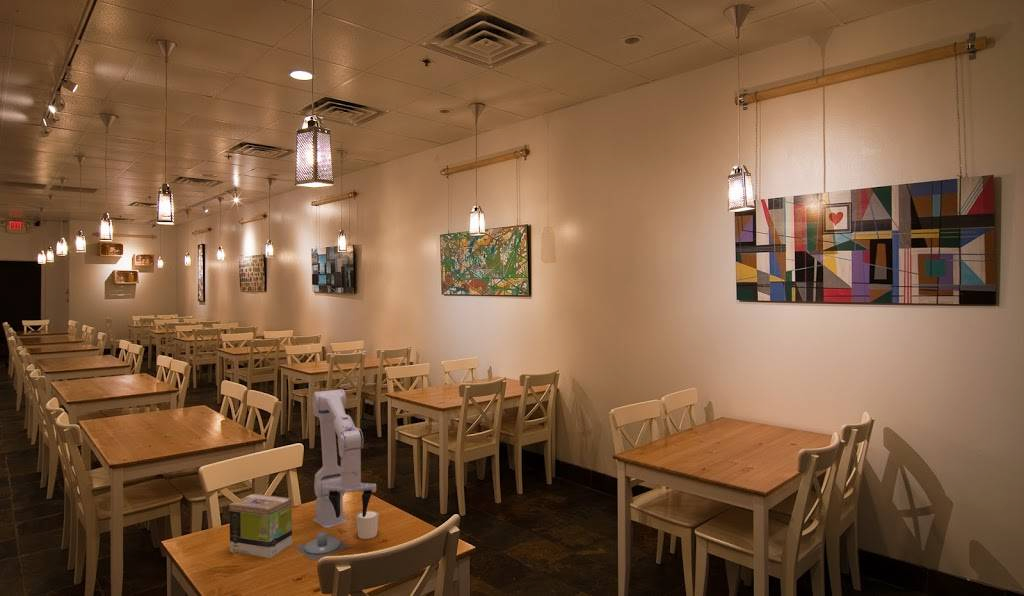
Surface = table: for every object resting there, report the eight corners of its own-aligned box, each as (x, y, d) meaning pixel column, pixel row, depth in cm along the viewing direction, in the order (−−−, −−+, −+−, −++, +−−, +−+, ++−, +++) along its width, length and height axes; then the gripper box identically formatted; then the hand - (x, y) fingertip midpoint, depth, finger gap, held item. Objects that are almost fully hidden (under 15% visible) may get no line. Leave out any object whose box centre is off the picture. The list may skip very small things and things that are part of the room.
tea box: (293, 545, 175) (292, 497, 174) (269, 560, 165) (268, 509, 165) (254, 538, 180) (253, 491, 179) (228, 553, 170) (227, 503, 170)
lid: (298, 547, 172) (298, 533, 172) (330, 536, 179) (330, 524, 179) (313, 558, 165) (313, 544, 165) (345, 547, 172) (345, 533, 172)
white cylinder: (372, 542, 176) (372, 519, 176) (352, 540, 178) (352, 518, 178) (382, 532, 183) (382, 511, 183) (362, 531, 185) (362, 509, 184)
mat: (294, 549, 172) (294, 547, 172) (331, 536, 181) (331, 534, 181) (312, 562, 164) (312, 560, 164) (350, 549, 172) (350, 547, 172)
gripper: (322, 475, 167) (323, 522, 167) (373, 474, 168) (373, 520, 168) (328, 468, 174) (329, 512, 174) (377, 466, 175) (377, 511, 175)
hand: (351, 515), depth 172 cm, fingers open, 7 cm apart
